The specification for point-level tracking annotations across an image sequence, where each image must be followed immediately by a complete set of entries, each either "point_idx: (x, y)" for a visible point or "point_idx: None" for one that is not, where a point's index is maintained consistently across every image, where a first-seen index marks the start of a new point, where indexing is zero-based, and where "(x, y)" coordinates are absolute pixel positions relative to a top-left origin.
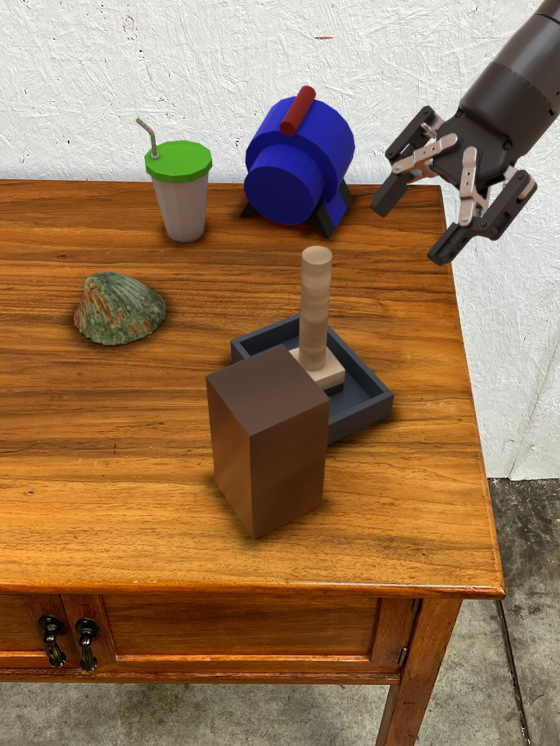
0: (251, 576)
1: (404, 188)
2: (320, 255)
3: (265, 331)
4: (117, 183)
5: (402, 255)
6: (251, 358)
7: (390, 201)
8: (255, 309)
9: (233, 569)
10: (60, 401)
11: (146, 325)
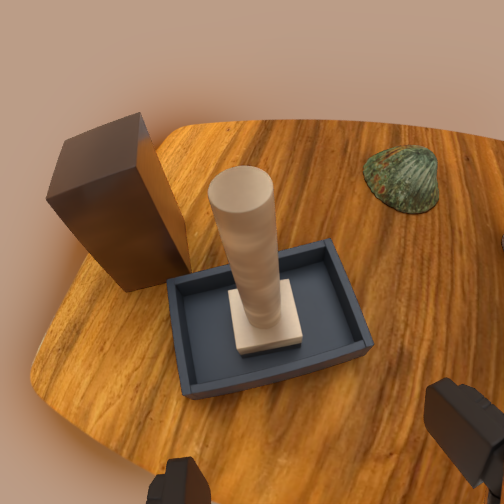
0: None
1: (472, 473)
2: (234, 191)
3: (339, 277)
4: None
5: (468, 494)
6: (135, 140)
7: (447, 433)
8: (408, 297)
9: None
10: (305, 140)
11: (381, 189)
